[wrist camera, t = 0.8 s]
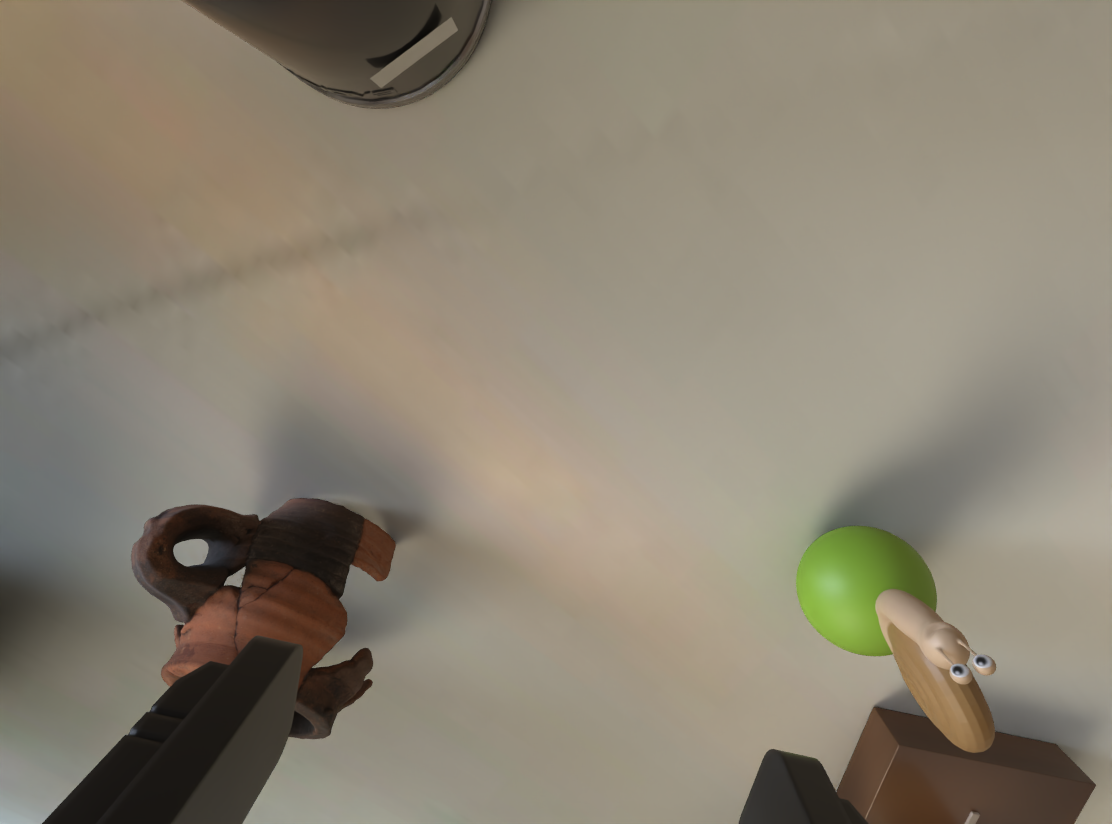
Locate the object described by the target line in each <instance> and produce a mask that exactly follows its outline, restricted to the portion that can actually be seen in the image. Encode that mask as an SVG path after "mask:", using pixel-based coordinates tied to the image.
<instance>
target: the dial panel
mask: <svg viewBox="0 0 1112 824" xmlns="http://www.w3.org/2000/svg"><path fill="white" fill-rule="evenodd" d="M1095 786H1096V784H1095V783H1094V782H1093V781H1092V780H1091V779H1090V778H1089V777H1088V776H1087V775H1086V774H1085V773H1084V772H1083V771H1082V770H1081V769H1080V768H1079V767H1078V766H1077V765H1076V764H1075V763H1074V762H1073V761H1072V760H1071V759H1070V758H1069V757H1068V756H1067V755H1066V754H1065V753H1064V752H1063V751H1062V750H1061V749H1060V748H1059V747H1058V746H1057V745H1056V744H1052V743H1047V742H1042V741H1037V740H1033V739H1028V738H1023V737H1018V736H1013V735H1008V734H1003V733H998V732H995V738H994V741H993V743H992V745H991V747H990V748H988V749H987V750H986V751H984V752H977V753H972V752H968V751H964V750H962V749H961V748H959V747H957V746H956V745H954V744H953V743H952V742H951V741H950V740H948V739H947V738H946V736H945V735H944V734H943V733H942V732H941V731H940V730H939V729H938V728H937V727H936V726H935V725H934V724H933V723H932V721H931V720H930V719H929V718H926V717H921V716H916V715H911V714H906V713H901V712H896V711H892V710H887V709H882V708H877V707H873V710H872V712H871V714H870V716H869V719H868V721H867V723H866V726H865V728H864V730H863V733H862V735H861V737H860V739H859V742H858V744H857V746H856V749H855V751H854V753H853V755H852V758H851V760H850V762H849V765H848V767H847V769H846V771H845V774H844V776H843V778H842V781H841V783H840V785H839V788H838V790H837V792H836V793H837V795H838V797H839V798H841V799H846V800H849V802H850V803H851V804H852V805H853V806H854V807H855V808H856V810H857V811H858V812H859V813H860V814H861V815H862V816H863V818H864V819H865V820H866V821H867V822H868V823H869V824H1074V823H1075V821H1076V819H1077V817H1078V816H1079V814H1080V812H1081V811H1082V809H1083V807H1084V805H1085V804H1086V802H1087V800H1088V798H1089V797H1090V795H1091V793H1092V792H1093V790H1094V788H1095Z"/></svg>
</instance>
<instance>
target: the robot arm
mask: <svg viewBox="0 0 1112 824" xmlns="http://www.w3.org/2000/svg"><path fill="white" fill-rule="evenodd" d="M181 1H183V2H184V3H186V4H187V5H189V6H190V7H192V8H194V9H195V10H197V11H198V12H200V13H201V14H203V15H204V16H206V17H208V18H209V19H211V20H212V21H214V22H215V23H217V24H218V25H220V26H222V27H223V28H225V29H226V30H228V31H229V32H231V33H233V34H234V35H236V36H237V37H239V38H240V39H242V40H243V41H245V42H247V43H248V44H250V45H251V46H253V47H254V48H256V49H258V50H259V51H261V52H262V53H264V54H265V55H267V56H268V57H270V58H272V59H273V60H275V61H276V62H278V63H279V64H280V65H282V66H283V67H284V68H286V69H287V70H288V71H290V72H291V73H292V74H294V75H295V76H296V77H298V78H299V79H300V80H301V81H303V82H304V83H306V84H307V85H309V86H311V87H312V88H314V89H315V90H317V91H318V92H320V93H322V94H324V95H326V96H328V97H330V98H332V99H334V100H337V101H339V102H342V103H345V104H349V105H352V106H357V107H363V108H374V109H380V108H393V107H399V106H403V105H407V104H411V103H413V102H416V101H418V100H421V99H423V98H425V97H427V96H429V95H431V94H432V93H434V92H435V91H437V90H438V89H440V88H441V87H443V86H444V85H445V84H446V83H447V82H449V81H450V80H451V79H452V78H453V77H454V76H455V75H456V74H457V73H458V72H459V71H460V69H461V68H462V67H463V66H464V64H465V63H466V62H467V60H468V59H469V57H470V56H471V54H472V53H473V51H474V49H475V47H476V45H477V44H478V42H479V40H480V37H481V35H482V32H483V30H484V27H485V24H486V21H487V18H488V14H489V9H490V5H491V0H181ZM302 658H303V647H302V645H300V644H295V643H291V642H286V641H281V640H277V639H272V638H268V637H263V636H255V637H253V638H252V639H251V640H250V641H249V642H248V643H247V645H246V646H245V647H244V648H243V649H242V651H241V652H240V653H239V654H238V655H237V657H236V658H235V659H234V660H233V661H232V662H231V664H230V665H227V664H222V663H218V662H213V661H209V662H208V663H206V664H204V665H202V666H201V667H199V668H197V669H195V670H194V671H192V672H190V673H188V674H187V675H185V676H183V677H181V678H180V679H178V680H176V681H175V682H174V683H173V685H172V686H171V687H170V688H169V689H168V690H167V691H166V692H165V693H164V694H163V695H162V696H161V697H160V698H159V699H158V701H157V702H156V703H155V704H154V705H153V706H152V708H151V710H150V712H146V713H145V714H144V715H143V717H142V718H141V719H140V720H139V721H138V722H137V723H136V724H135V725H134V726H133V727H132V728H131V730H130V733H129V734H128V735H125V736H124V737H123V738H122V739H121V740H120V741H119V742H118V743H117V744H116V745H115V746H114V747H113V749H112V750H111V751H110V752H109V753H108V754H107V755H106V756H105V757H104V758H103V759H102V760H101V761H100V762H99V763H98V765H97V766H96V767H95V768H94V769H93V770H92V771H91V772H90V773H89V774H88V775H87V776H86V777H85V778H84V779H83V781H82V782H81V783H80V784H79V785H78V786H77V787H76V788H75V789H74V790H73V791H72V792H71V793H70V794H69V795H68V797H67V798H66V799H65V800H64V801H63V802H62V803H61V804H60V805H59V806H58V807H57V808H56V809H55V810H54V811H53V813H52V814H51V815H50V816H49V817H48V818H47V819H46V820H45V821H44V822H43V823H42V824H242V823H243V821H244V820H245V818H246V816H247V814H248V813H249V811H250V809H251V807H252V806H253V804H254V802H255V801H256V799H257V797H258V795H259V794H260V792H261V790H262V789H263V787H264V785H265V783H266V782H267V780H268V778H269V776H270V775H271V773H272V771H273V770H274V768H275V766H276V764H277V763H278V761H279V759H280V757H281V754H282V752H283V750H284V747H285V745H286V742H287V739H288V736H289V733H290V730H291V726H292V722H293V716H294V710H295V703H296V697H297V690H298V684H299V678H300V671H301V665H302ZM739 824H869V823H868V822H867V821H866V820H865V819H864V818H863V816H862V815H861V814H860V813H859V812H858V811H857V810H856V808H855V807H854V806H853V805H852V804H851V803H850V802H849V800H846V799H841V798H839V797H838V795H837V793H836V791H835V789H834V787H833V785H832V783H831V781H830V779H829V777H828V775H827V773H826V771H825V769H824V767H823V766H822V764H821V763H820V762H819V761H818V760H817V759H815V758H812V757H807V756H803V755H798V754H793V753H789V752H784V751H780V750H775V749H771V750H769V751H768V752H767V753H766V754H765V756H764V758H763V760H762V763H761V766H760V768H759V771H758V773H757V776H756V778H755V781H754V783H753V786H752V789H751V791H750V794H749V796H748V799H747V801H746V804H745V806H744V809H743V812H742V814H741V817H740V820H739Z"/></svg>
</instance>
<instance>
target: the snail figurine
mask: <svg viewBox="0 0 1112 824" xmlns="http://www.w3.org/2000/svg"><path fill="white" fill-rule="evenodd" d="M796 588H797V595H798V599H799V602H800V605H801V608H802V610H803V612H804V614H805V616H806V617H807V619H808V620H809V622H810V623H811V625H812V626H813V627H814V628H815V629H816V630H817V631H818V632H819V633H820V634H821V635H822V636H823V637H824V638H825V639H827V640H828V641H830V642H831V643H833V644H834V645H836V646H838V647H840V648H842V649H844V650H846V651H849V652H852V653H856V654H860V655H866V656H886V655H891V654H894V657H895V660H896V662H897V664H898V667H899V669H900V672H901V674H902V676H903V678H904V680H905V682H906V684H907V686H908V688H909V689H910V691H911V693H912V694H913V696H914V698H915V699H916V701H917V702H918V704H919V705H920V707H921V708H922V710H923V711H924V712H925V714H926V715H927V716H928V718H929V719H930V720H931V721H932V723H933V724H934V725H935V726H936V727H937V728H938V729H939V730H940V731H941V732H942V733H943V734H944V735H945V736H946V738H947V739H948V740H950V741H951V742H952V743H953V744H954V745H956V746H957V747H959V748H961V749H962V750H964V751H968V752H972V753H977V752H984V751H986V750H987V749H988V748H990V747H991V745H992V743H993V741H994V738H995V727H994V722H993V718H992V715H991V712H990V709H989V707H988V704H987V702H986V700H985V698H984V695H983V693H982V691H981V690H980V688H979V686H978V684H977V682H976V680H975V678H974V677H973V675H972V672H971V670H970V669H969V668H968V667H967V665H966V663H967V662H968V659H969V656H970V652H971V653H972V654H973V656H974V658H973V661H972V664H973V667H974V669H975V670H976V671H977V672H978V673H980V674H982V675H991V674H993V673H994V672H995V670H996V664H995V662H994V660H993V659H992V658H991V657H989V656H987V655H977V654H976V653H975V652H974V651H973V650H971V649H970V648H969V645H968V642H967V640H966V638H965V637H964V635H963V634H962V633H961V632H960V631H959V630H958V629H957V628H955V627H954V626H952V625H950V624H948V623H945V622H944V621H943V620H942V619H941V618H940V617H939V615H938V614H937V613H936V605H937V594H936V587H935V583H934V580H933V577H932V574H931V572H930V570H929V568H928V566H927V565H926V563H925V562H924V560H923V559H922V557H921V556H920V555H919V554H918V553H917V552H916V551H915V550H914V549H913V548H912V547H911V546H910V545H909V544H908V543H906V542H905V541H903V540H902V539H900V538H899V537H897V536H895V535H893V534H891V533H889V532H887V531H884V530H881V529H877V528H873V527H867V526H848V527H842V528H838V529H835V530H832V531H830V532H828V533H826V534H824V535H822V536H821V537H819V538H818V539H817V540H815V541H814V542H813V543H812V544H811V545H810V546H809V548H808V549H807V550H806V552H805V553H804V555H803V557H802V559H801V561H800V563H799V567H798V571H797V577H796Z"/></svg>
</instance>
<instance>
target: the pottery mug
mask: <svg viewBox="0 0 1112 824" xmlns="http://www.w3.org/2000/svg"><path fill="white" fill-rule="evenodd" d="M190 539H203V540H204V541H206V542H207V543H208V546H209V551H208V554H207V557H206V559H205V561H204V563H203V564H201V565H193V566H189V567H186V566H184V565H182V564H180V563H179V562H178V561H177V560H176V559H175V557H174V554H173V548H174V546H175V544H177V543H179V542H182V541H186V540H190ZM395 547H396V544H395V542H394V540H392V539H391V537H390V536H389V535H388V534H387V533H386V532H385V531H383V530H382V529H381V528H380V527H379V526H377V525H375V524H373V523H372V522H370V521H369V520H367V519H365V518H364V517H362V516H361V515H359V514H357V513H355V512H352V511H350V510H348V509H347V508H345V507H344V506H341V505H336V504H333V503H330V502H328V501H325V500H320V499H307V498H299V499H290V500H289V501H287V502H286V503H285V504H284V505H283V506H282V507H280V508H279V509H278V510H276V511H274V512H272V513H271V514H270V515H269V516H268V517H266V518H264V519H262V520H261V521H259V519H258V516H257V515H255V514H253V515H241V514H238V513H235V512H233V511H230V510H227V509H223V508H218V507H213V506H207V505H186V506H181V507H174V508H172V509H168V510H166V511H164V512H162V513H161V514H160V515H158V516H156V517H153V518H151V519H149V520H148V521H147V522H146V523H145V525H144V533H143V536H142V537H141V538H140V539H139V540H138V541H137V542H136V543H135V544H134V545H133V548H132V554H131V561H132V569H133V572H134V575H135V577H136V579H137V580H138V582H139V583H140V584H141V585H142V587H143V588H144V589H145V590H147V591H148V592H149V593H150V594H151V595H153V596H155V597H156V598H158V599H159V600H161V601H162V602H163V603H165V604H166V605H167V606H168V607H169V608H170V610H171V612H172V614H173V617H174V618H175V620H177V621H179V622H184V623H185V625H176V626H175V629H174V635H175V643H176V651H175V652H174V654H173V655H172V657H171V659H170V660H169V661H168V662H167V663H166V664H165V665H164V666H163V668H162V670H161V676H162V678H163V680H164V681H165V682H166V683H167V685H168V686H170V687H171V686H172V685H173V683H174V682H175V681H176V680H178V679H180V678H181V677H183V676H185V675H187V674H188V673H190V672H192V671H194V670H195V669H197V668H199V667H201V666H202V665H204V664H206V663H208V662H209V661H213V662H218V663H222V664H227V665H230V664H231V662H232V661H233V660H234V659H235V658H236V657H237V655H238V654H239V653H240V652H241V651H242V649H243V648H244V647H245V646H246V645H247V643H248V642H249V641H250V640H251V639H252V638H253V637H255V636H263V637H268V638H272V639H277V640H281V641H286V642H291V643H295V644H300V645H302V647H303V658H302V665H301V671H300V678H299V684H298V690H297V697H296V703H295V710H294V716H293V722H292V726H291V730H290V733H289V736H288V737H295V738H300V739H320V738H326V737H327V736H329V735H330V734H331V729H332V726H333V723H334V720H335V718H336V716H337V713H338V712H340V711H341V710H342V709H343V708H345V707H347V706H349V705H351V704H353V703H354V702H355V701H356V700H357V699H359V698H360V697H361V696H362V695H363V694H364V693H365V691H366V690H367V689H369V688H370V687H371V686H372V683H373V682H372V680H370V679H367V680H365V681H364V678H365V676H366V675H367V674H368V673H369V672H370V671H371V669H372V667H373V659H372V654H371V651H370V650H369V649H368V648H363V649H361V650H359V651H358V652H357V653H356V654H355V655H354V656H353V657H352V659H351V660H348V661H344V662H341V663H339V664H336V665H332V666H329V667H319V668H312V667H313V666H314V665H315V664H317V663H318V662H319V661H320V660H321V659H322V657H323V656H324V655H325V654H326V653H328V652H329V651H330V650H331V649H332V648H333V646H334V645H335V644H336V643H337V642H338V641H339V640H340V639H341V638H342V637H343V636H344V634H345V628H346V625H347V612H346V610H345V609H344V607H343V605H342V603H341V602H340V601H339V598H340V597H341V596H342V595H343V592H344V588H345V583H346V578H347V575H348V573H349V567H350V564H352V565H354V566H356V567H359V568H361V569H362V570H363V571H365V572H367V573H368V574H369V575H371V576H372V577H373V578H374V579H375V580H376V581H383V580H385V579H386V578H387V576H388V574H389V572H390V568H391V561H392V558H393V554H394V550H395ZM245 566H246V570H245V574H244V577H243V581H242V587H236V586H232V585H227V586H224V583H225V581H226V579H227V577H229V576H231V575H233V574H234V573H236V572H238V571H239V570H240V569H242V568H243V567H245Z"/></svg>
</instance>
